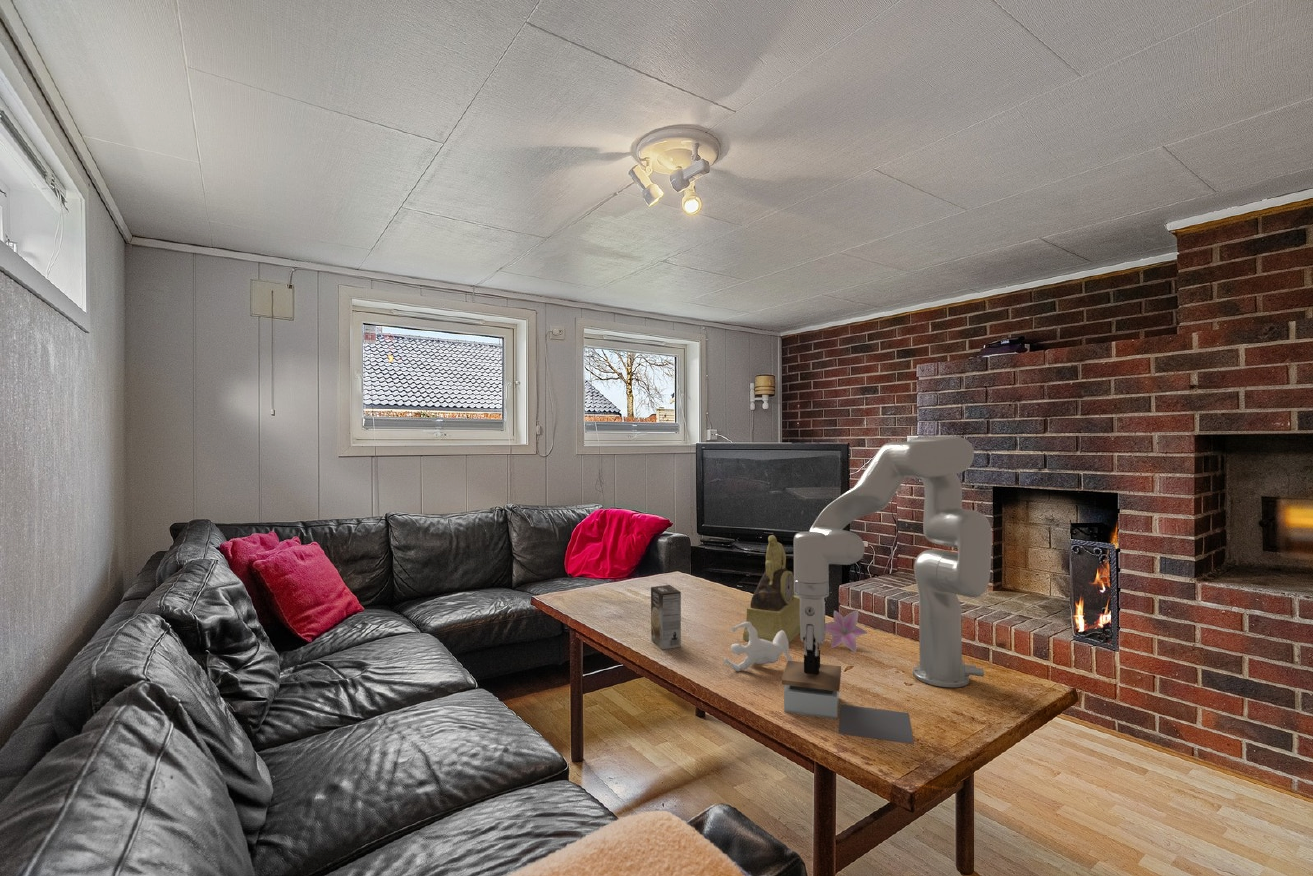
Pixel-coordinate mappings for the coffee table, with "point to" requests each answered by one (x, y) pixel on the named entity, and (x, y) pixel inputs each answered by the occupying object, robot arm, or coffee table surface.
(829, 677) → the lid
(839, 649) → the coffee table surface
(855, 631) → the lily
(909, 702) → the coffee table surface
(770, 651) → the person figurine
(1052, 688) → the coffee table surface
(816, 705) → the grey square box
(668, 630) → the coffee box
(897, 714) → the mat
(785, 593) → the decorative clock
